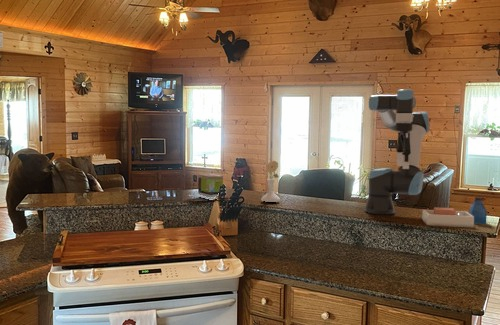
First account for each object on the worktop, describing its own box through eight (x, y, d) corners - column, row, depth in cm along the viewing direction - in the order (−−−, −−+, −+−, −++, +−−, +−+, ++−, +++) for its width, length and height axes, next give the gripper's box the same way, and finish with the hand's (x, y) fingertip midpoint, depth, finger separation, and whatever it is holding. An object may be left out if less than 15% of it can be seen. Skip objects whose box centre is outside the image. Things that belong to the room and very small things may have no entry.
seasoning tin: (434, 207, 225) (452, 208, 224) (433, 219, 226) (452, 220, 224) (436, 209, 219) (455, 210, 218) (436, 222, 220) (455, 223, 218)
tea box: (223, 199, 285) (223, 175, 284) (208, 201, 280) (208, 176, 279) (212, 196, 298) (212, 173, 297) (197, 197, 293) (197, 173, 292)
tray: (422, 219, 230) (422, 209, 230) (466, 221, 226) (466, 211, 226) (427, 225, 217) (427, 214, 217) (473, 227, 214) (474, 216, 213)
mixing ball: (463, 222, 222) (453, 221, 223) (463, 214, 223) (454, 213, 224) (464, 221, 218) (455, 221, 219) (464, 213, 219) (455, 212, 220)
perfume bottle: (486, 224, 222) (487, 198, 221) (472, 223, 223) (473, 198, 222) (482, 221, 228) (483, 196, 227) (468, 220, 229) (469, 196, 228)
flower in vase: (257, 201, 279) (257, 159, 277) (273, 200, 285) (274, 159, 283) (268, 205, 268) (269, 161, 266) (285, 203, 273) (286, 160, 271)
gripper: (418, 122, 210) (417, 170, 212) (406, 122, 234) (405, 164, 236) (401, 122, 211) (399, 170, 213) (391, 122, 235) (389, 164, 237)
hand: (402, 167), depth 225 cm, fingers open, 13 cm apart
